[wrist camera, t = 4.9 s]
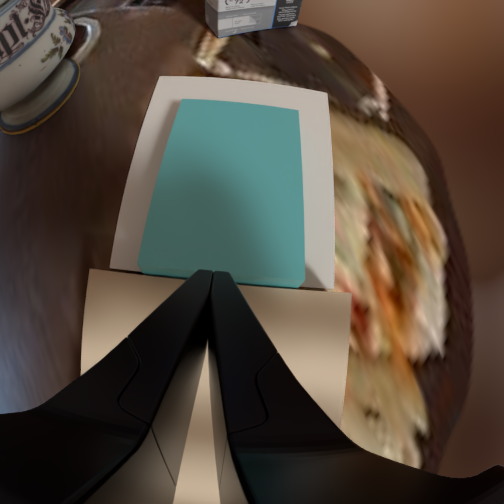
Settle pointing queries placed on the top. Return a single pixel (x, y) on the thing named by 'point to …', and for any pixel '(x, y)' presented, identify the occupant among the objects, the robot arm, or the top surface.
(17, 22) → the apothecary jar
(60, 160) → the top surface
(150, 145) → the mat
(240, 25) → the label tape box
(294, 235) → the teal flat block
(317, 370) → the plate
